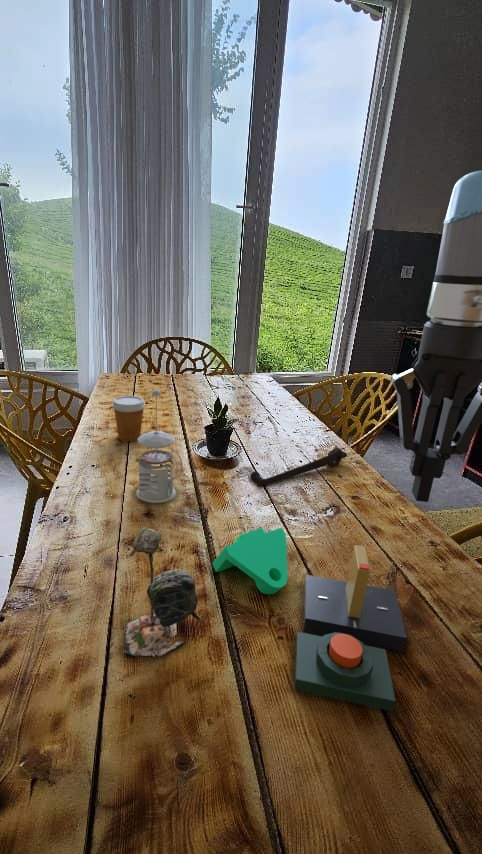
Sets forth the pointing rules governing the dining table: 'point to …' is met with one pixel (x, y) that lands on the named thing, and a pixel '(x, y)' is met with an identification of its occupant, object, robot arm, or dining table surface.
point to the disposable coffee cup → (128, 416)
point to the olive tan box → (357, 581)
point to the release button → (345, 651)
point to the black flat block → (373, 626)
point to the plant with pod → (160, 603)
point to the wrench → (303, 467)
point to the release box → (343, 673)
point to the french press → (162, 486)
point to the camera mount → (258, 558)
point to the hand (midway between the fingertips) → (419, 496)
